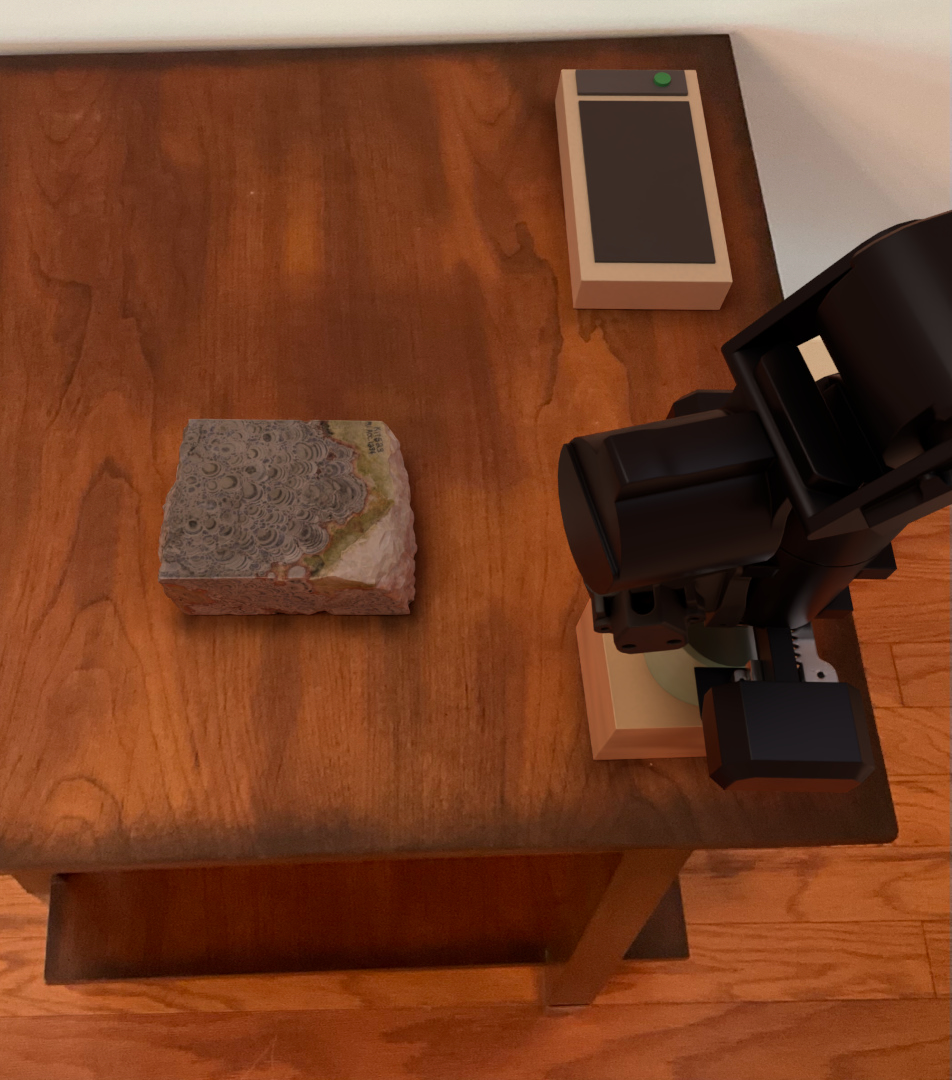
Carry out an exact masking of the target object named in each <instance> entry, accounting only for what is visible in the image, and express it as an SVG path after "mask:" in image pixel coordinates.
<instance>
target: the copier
mask: <svg viewBox="0 0 952 1080" xmlns="http://www.w3.org/2000/svg"><path fill="white" fill-rule="evenodd" d="M554 104H555V105H554V106H555V117H556V128H557V141H558V149H559V163H560V173H561V185H562V195H563V205H564V206H563V207H564V218H565V229H566V241H567V248H568V249H567V252H568V262H569V263H568V264H569V275H570V285H571V286H570V287H571V297H572V307H573V310H575V309H576V310H577V309H579V310H582V309H583V310H584V309H586V310H590V309H591V310H667V311H668V310H669V311H670V310H674V311H675V310H676V311H678V310H681V311H682V310H684V311H685V310H686V311H720V309H721V307H722V305H723V303H724V302H725V299H726V296H727V295H728V293H729V290H730V289H731V286H732V284H733V276H732V270H731V263H730V258H729V252H728V246H727V242H726V240H727V239H726V234H725V230H724V229H725V228H724V223H723V219H722V218H723V217H722V213H721V207H720V206H721V205H720V201H719V194H718V189H717V183H716V177H715V172H714V165H713V160H712V154H711V149H710V142H709V137H708V131H707V126H706V119H705V114H704V108H703V102H702V96H701V91H700V85H699V79H698V74H697V70H696V69H568V68H567V69H564V68H563V69H561V70H560V74H559V80H558V85H557V89H556V95H555V100H554Z"/></svg>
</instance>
